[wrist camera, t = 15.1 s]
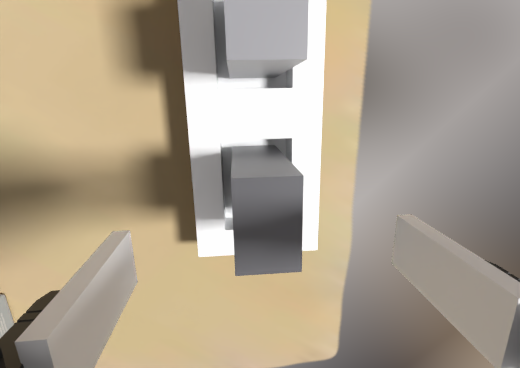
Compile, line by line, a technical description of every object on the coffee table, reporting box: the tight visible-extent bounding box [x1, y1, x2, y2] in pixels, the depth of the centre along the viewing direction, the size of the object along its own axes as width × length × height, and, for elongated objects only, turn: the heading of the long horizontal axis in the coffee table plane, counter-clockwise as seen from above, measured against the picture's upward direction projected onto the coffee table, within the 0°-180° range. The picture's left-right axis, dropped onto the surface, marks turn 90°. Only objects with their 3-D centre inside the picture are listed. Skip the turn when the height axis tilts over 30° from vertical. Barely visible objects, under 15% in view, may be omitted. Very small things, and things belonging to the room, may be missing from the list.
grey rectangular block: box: [231, 145, 304, 276], centre depth 23 cm, size 4×6×12 cm, turn 1°
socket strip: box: [177, 0, 326, 257], centre depth 22 cm, size 11×25×12 cm, turn 1°
